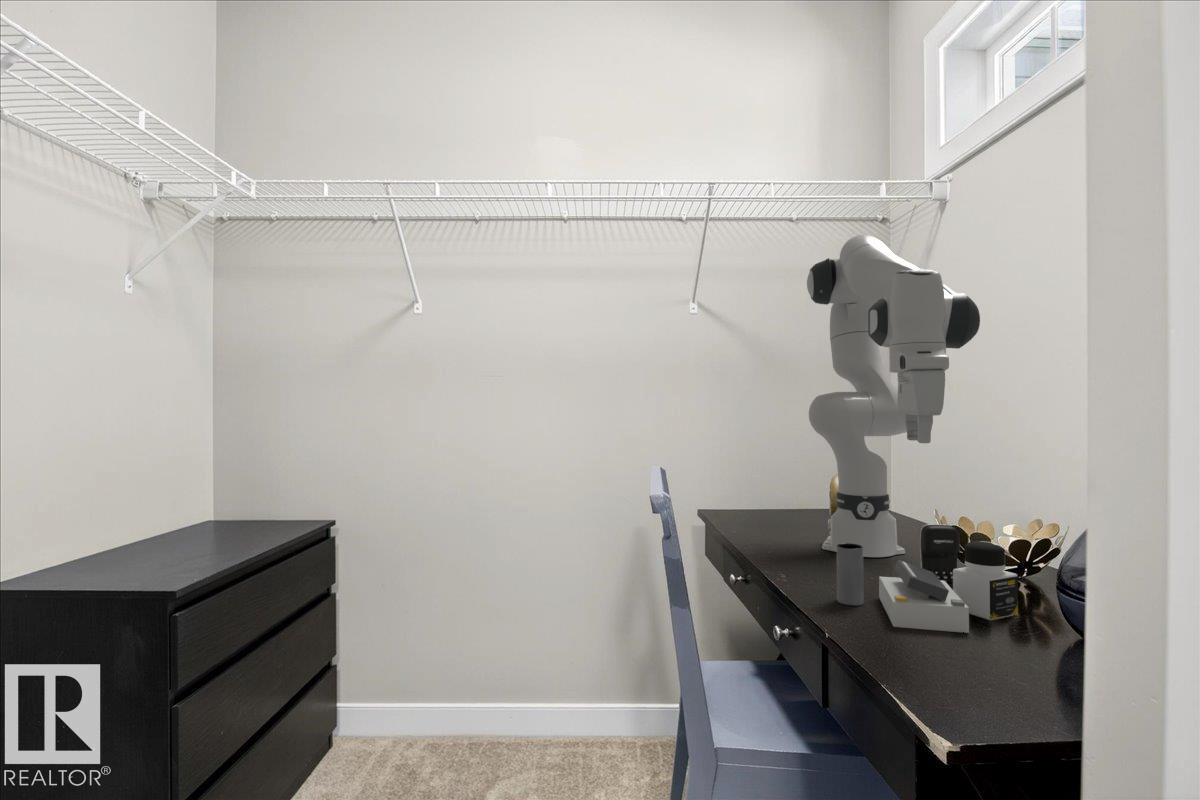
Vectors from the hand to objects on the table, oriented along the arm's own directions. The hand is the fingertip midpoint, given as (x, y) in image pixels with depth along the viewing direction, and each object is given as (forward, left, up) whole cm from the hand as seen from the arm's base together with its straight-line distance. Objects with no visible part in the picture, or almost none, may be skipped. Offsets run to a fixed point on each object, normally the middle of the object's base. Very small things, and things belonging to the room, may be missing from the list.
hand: (918, 441), depth 112 cm
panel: (0, 0, -30) cm, 30 cm away
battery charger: (-23, +8, -30) cm, 39 cm away
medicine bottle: (-4, +11, -30) cm, 32 cm away
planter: (-4, -11, -30) cm, 32 cm away
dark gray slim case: (0, 0, -24) cm, 24 cm away
